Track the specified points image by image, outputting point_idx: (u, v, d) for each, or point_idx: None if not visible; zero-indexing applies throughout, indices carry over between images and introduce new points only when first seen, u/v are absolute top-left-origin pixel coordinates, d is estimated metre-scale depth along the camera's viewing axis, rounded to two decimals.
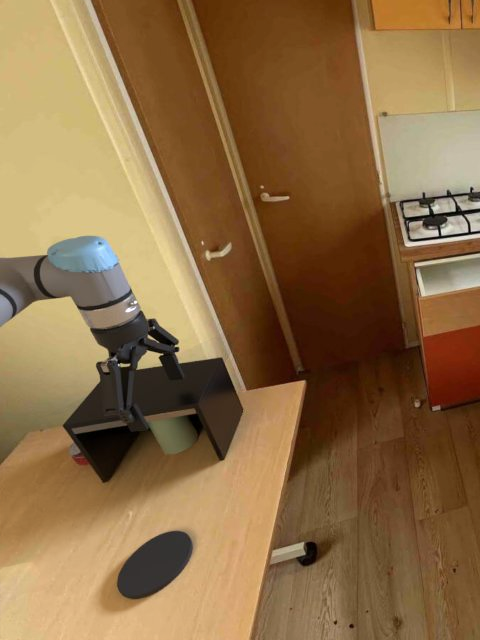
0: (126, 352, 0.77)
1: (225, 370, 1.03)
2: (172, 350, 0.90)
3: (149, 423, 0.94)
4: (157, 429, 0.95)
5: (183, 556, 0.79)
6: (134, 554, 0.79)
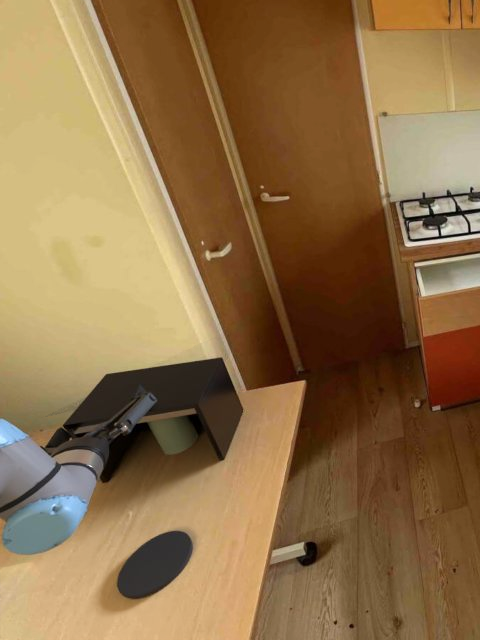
0: None
1: (225, 370, 1.03)
2: None
3: (149, 423, 0.94)
4: (157, 429, 0.95)
5: (183, 556, 0.79)
6: (134, 554, 0.79)
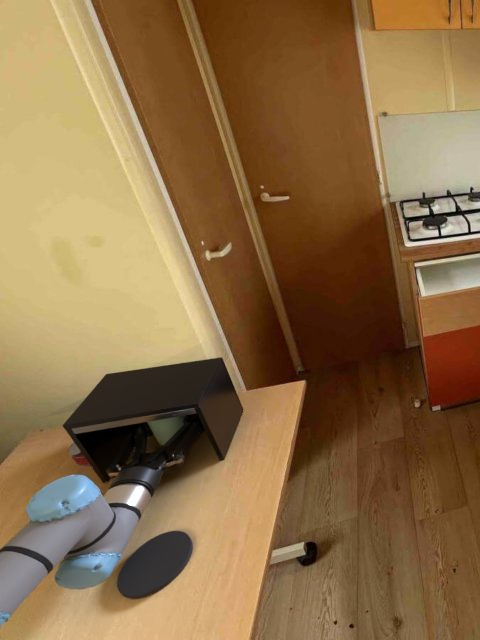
0: None
1: (225, 370, 1.03)
2: None
3: (149, 423, 0.94)
4: (157, 429, 0.95)
5: (183, 556, 0.79)
6: (134, 554, 0.79)
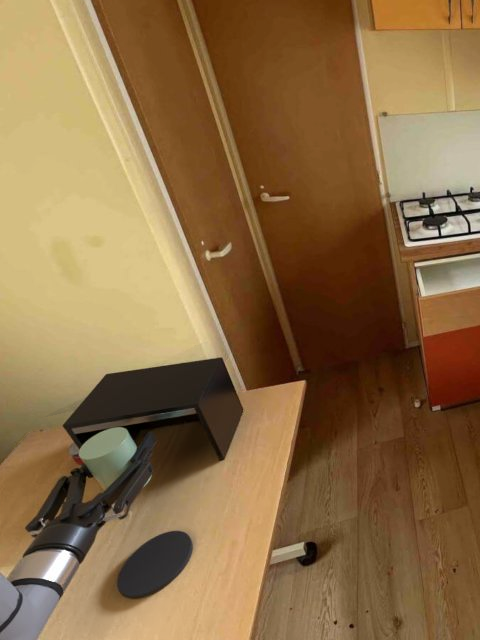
0: None
1: (225, 370, 1.03)
2: None
3: (86, 464, 0.76)
4: (97, 472, 0.77)
5: (183, 556, 0.79)
6: (134, 554, 0.79)
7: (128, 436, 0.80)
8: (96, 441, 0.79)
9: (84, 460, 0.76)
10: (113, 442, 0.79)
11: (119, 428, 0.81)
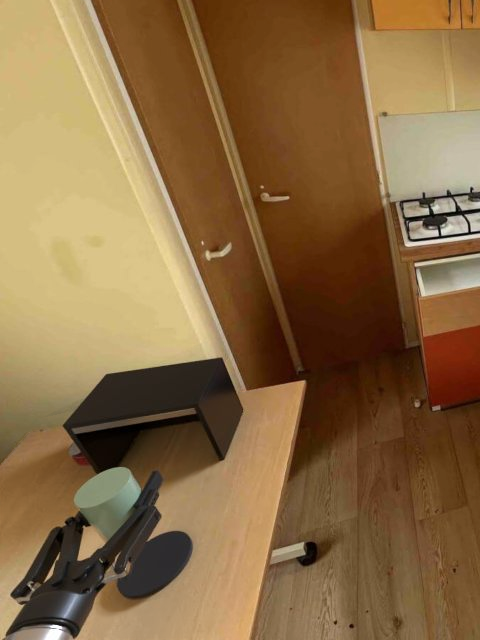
0: None
1: (225, 370, 1.03)
2: None
3: (83, 513, 0.66)
4: (96, 521, 0.67)
5: (183, 556, 0.79)
6: None
7: (131, 478, 0.70)
8: (94, 484, 0.68)
9: (80, 509, 0.65)
10: (114, 486, 0.68)
11: (121, 468, 0.71)
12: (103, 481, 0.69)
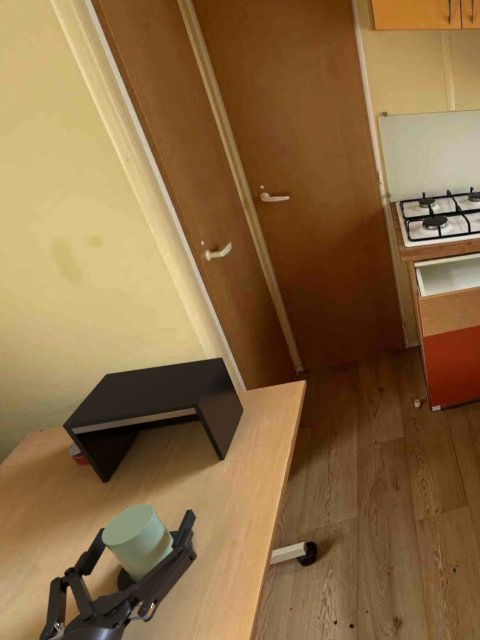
0: None
1: (225, 370, 1.03)
2: None
3: (110, 549, 0.70)
4: (122, 557, 0.71)
5: None
6: None
7: (154, 514, 0.74)
8: (120, 521, 0.73)
9: (108, 546, 0.70)
10: (139, 523, 0.72)
11: (144, 505, 0.75)
12: (128, 518, 0.73)
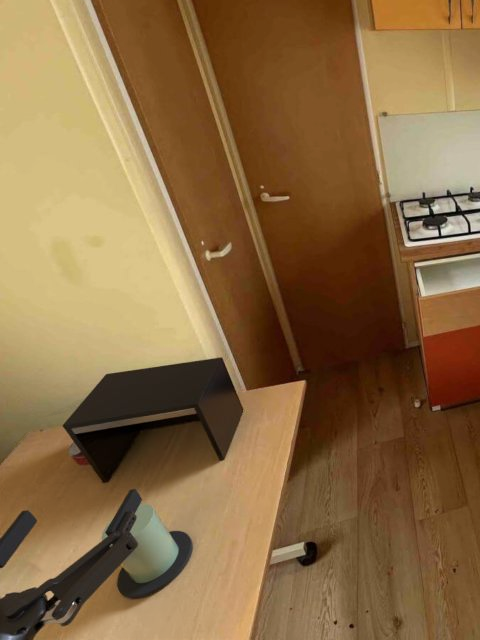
0: None
1: (225, 370, 1.03)
2: None
3: None
4: None
5: (183, 556, 0.79)
6: None
7: (154, 514, 0.74)
8: None
9: None
10: (139, 523, 0.72)
11: (144, 505, 0.75)
12: None
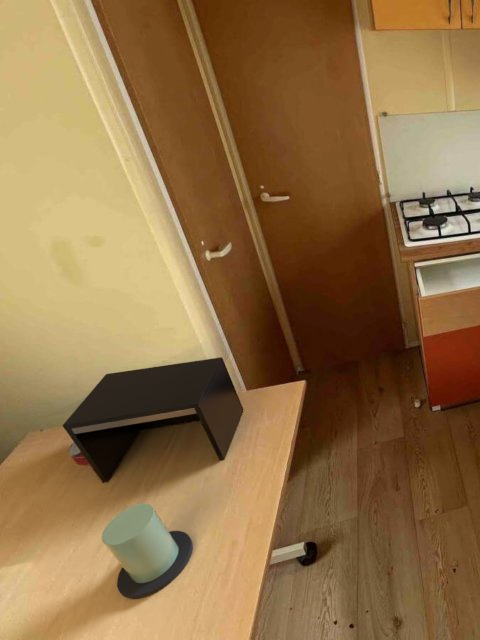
0: None
1: (225, 370, 1.03)
2: None
3: (110, 549, 0.70)
4: (122, 557, 0.71)
5: (183, 556, 0.79)
6: None
7: (154, 514, 0.74)
8: (120, 521, 0.73)
9: (108, 546, 0.70)
10: (139, 523, 0.72)
11: (144, 505, 0.75)
12: (128, 518, 0.73)
